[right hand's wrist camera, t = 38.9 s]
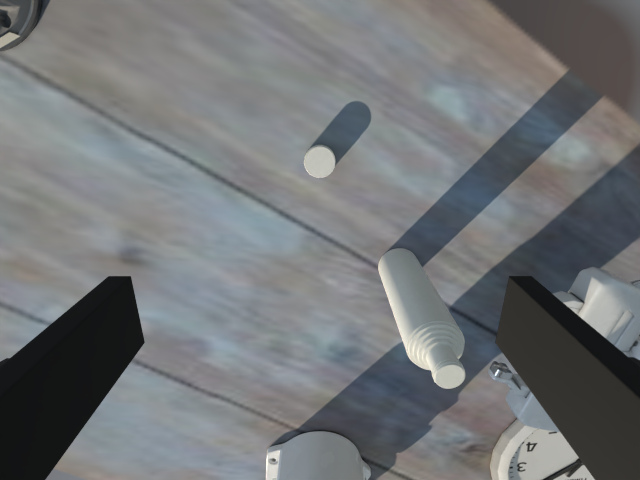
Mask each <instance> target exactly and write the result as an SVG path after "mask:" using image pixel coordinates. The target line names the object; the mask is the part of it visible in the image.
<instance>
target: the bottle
mask: <svg viewBox="0 0 640 480" xmlns="http://www.w3.org/2000/svg"><path fill="white" fill-rule="evenodd" d="M378 269H379V273H380V276H381V279H382V282H383V285H384V288H385V291H386V293H387V296H388V299H389V302H390V305H391V308H392V311H393V314H394V317H395V320H396V322H397V325H398V328H399V331H400V334H401V337H402V340H403V343H404V346H405V349H406V352H407V354H408V357H409V358H410V360H411V361H412V362H413V363H415V364H416V365H417V366H419V367H421V368H423V369H426V370H431V372H432V377H433V379H434V382H435V383H437V385H439V386H440V387H442V388H446V389H451V388H455V387H457V386H459V385H460V384H461V383H462V382H463V381H464V379H465V369H464V367H463V365H462V364H461V362H460V361H459V358H460V357H461V355H462V353H463V351H464V344H465V340H464V335H463V333H462V331H461V330H460V328H459V327H458V325H457V323H456V322H455V320H454V318H453V317H452V315H451V314H450V312H449V310H448V309H447V307H446V305H445V304H444V302H443V300H442V299H441V297H440V296H439V294H438V292H437V291H436V289H435V287H434V286H433V284H432V282H431V281H430V279H429V278H428V276H427V274H426V273H425V271H424V269H423V268H422V266H421V265H420V263H419V261H418V260H417V258H416V256H415V255H414V254H413V253H412V252H411V251H409V250H407V249H404V248H396V249H392V250H390V251H388V252H386V253H385V254H384V255H383V256H382V258H381V259H380V261H379V266H378Z"/></svg>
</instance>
